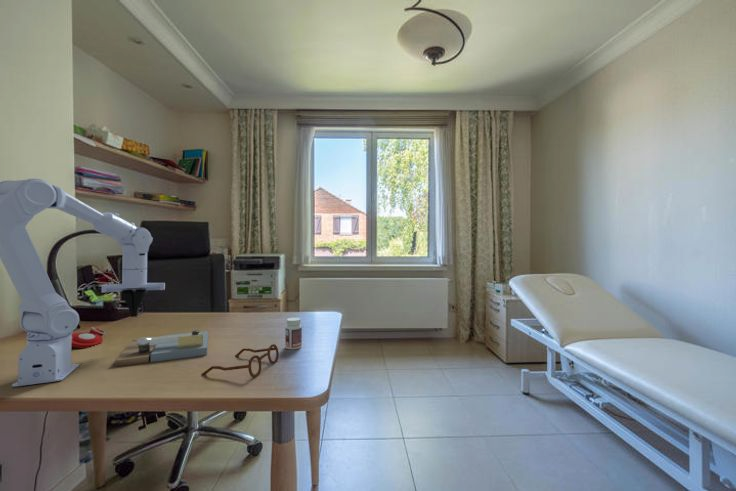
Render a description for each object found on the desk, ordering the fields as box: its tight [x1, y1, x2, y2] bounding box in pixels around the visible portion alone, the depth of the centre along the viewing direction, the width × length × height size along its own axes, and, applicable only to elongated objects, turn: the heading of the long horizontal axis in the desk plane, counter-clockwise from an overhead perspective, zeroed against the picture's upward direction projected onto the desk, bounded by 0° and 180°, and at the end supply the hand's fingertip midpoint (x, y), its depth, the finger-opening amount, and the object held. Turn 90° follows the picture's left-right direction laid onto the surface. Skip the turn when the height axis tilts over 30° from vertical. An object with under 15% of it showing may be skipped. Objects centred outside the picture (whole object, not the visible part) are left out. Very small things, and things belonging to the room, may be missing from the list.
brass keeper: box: [178, 334, 203, 348], centre depth 87 cm, size 4×6×3 cm
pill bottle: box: [284, 317, 303, 351], centre depth 92 cm, size 5×5×8 cm
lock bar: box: [136, 329, 200, 347], centre depth 86 cm, size 15×3×2 cm, turn 116°
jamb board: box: [114, 339, 156, 368], centre depth 86 cm, size 18×7×3 cm, turn 26°
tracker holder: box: [71, 326, 106, 349], centre depth 94 cm, size 12×4×10 cm
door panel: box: [150, 330, 210, 363], centre depth 90 cm, size 18×13×2 cm
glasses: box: [201, 344, 280, 378], centre depth 77 cm, size 13×13×5 cm
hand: (134, 316), depth 89 cm, fingers closed
